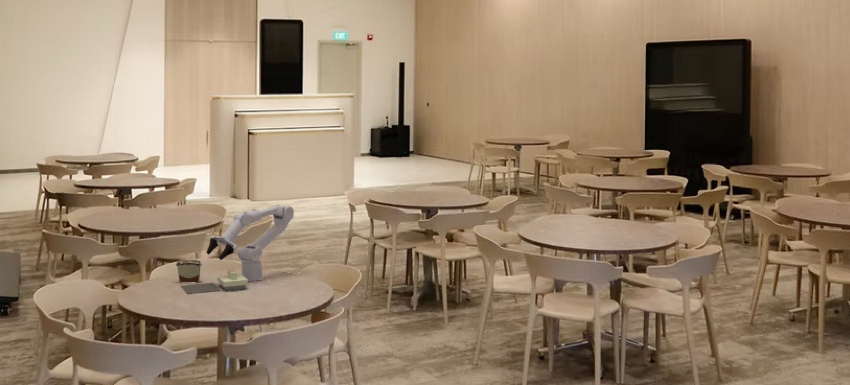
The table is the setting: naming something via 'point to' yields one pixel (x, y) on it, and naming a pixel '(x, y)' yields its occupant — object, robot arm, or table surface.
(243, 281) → the lid
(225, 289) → the storage box
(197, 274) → the food container
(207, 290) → the rubber mat
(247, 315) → the table surface
